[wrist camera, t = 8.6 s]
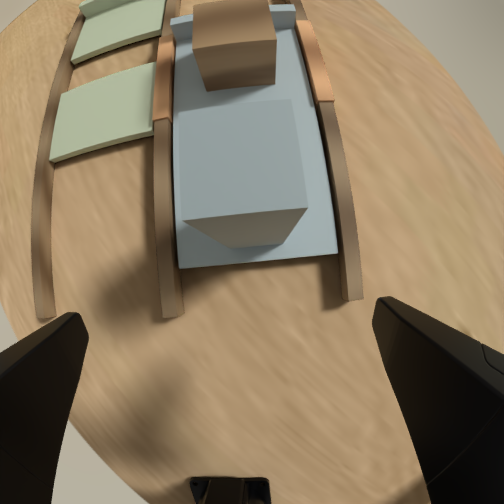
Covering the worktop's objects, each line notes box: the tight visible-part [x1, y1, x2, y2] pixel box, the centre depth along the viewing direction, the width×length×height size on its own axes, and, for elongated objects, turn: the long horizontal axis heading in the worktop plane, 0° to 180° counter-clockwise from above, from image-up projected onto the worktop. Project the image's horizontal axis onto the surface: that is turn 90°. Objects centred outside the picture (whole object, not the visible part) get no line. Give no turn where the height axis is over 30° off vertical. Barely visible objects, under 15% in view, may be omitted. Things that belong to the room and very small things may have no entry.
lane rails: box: [31, 0, 364, 319], centre depth 19 cm, size 35×24×2 cm
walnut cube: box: [192, 0, 277, 92], centre depth 16 cm, size 5×5×5 cm
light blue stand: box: [170, 4, 338, 269], centre depth 14 cm, size 20×10×12 cm, turn 5°
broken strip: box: [49, 0, 167, 163], centre depth 19 cm, size 20×10×3 cm, turn 5°
